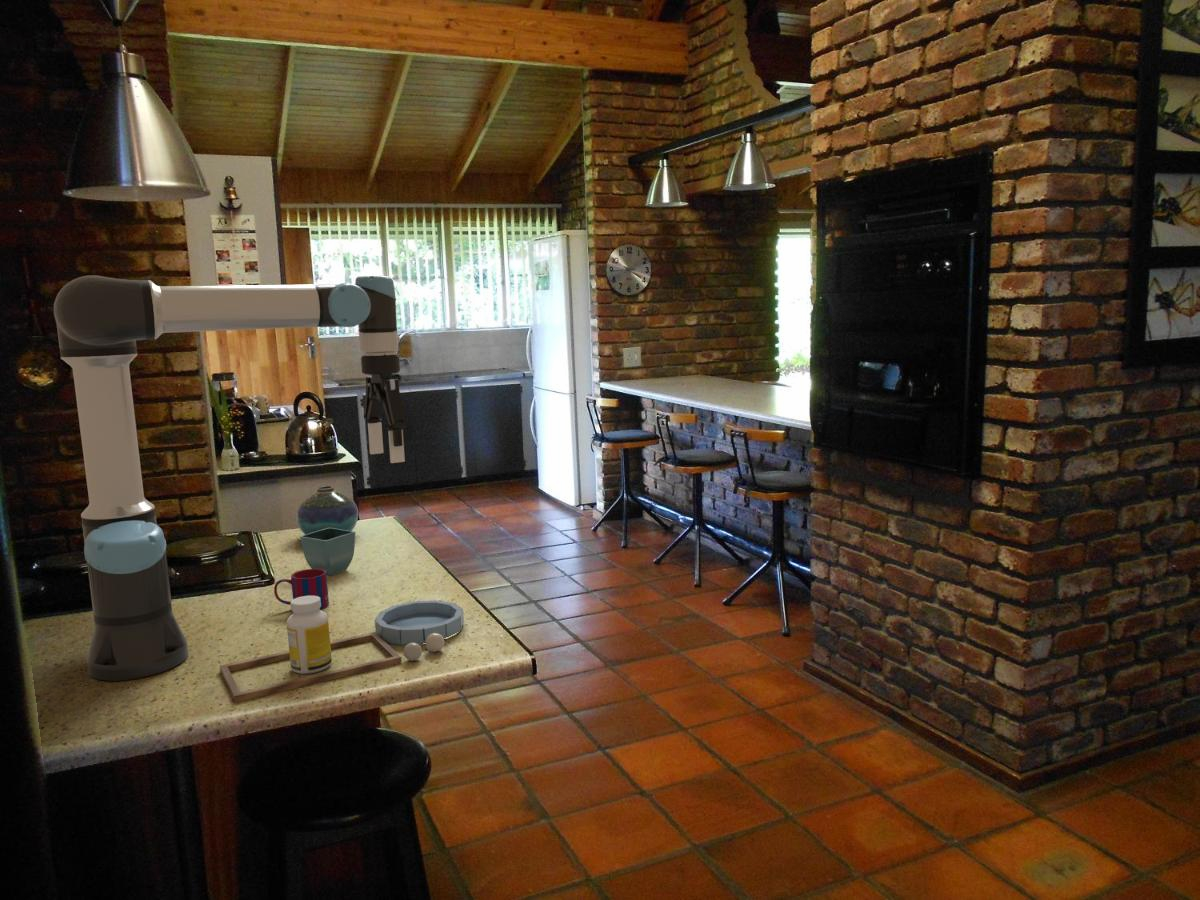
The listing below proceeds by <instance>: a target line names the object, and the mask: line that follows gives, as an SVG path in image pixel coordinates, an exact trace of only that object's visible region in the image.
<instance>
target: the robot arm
mask: <svg viewBox="0 0 1200 900" xmlns="http://www.w3.org/2000/svg"><path fill="white" fill-rule="evenodd" d="M394 282H395V281H394V280H393V279H392V277H391V276H387V275H363V276H361V275H360V276H357V277H356V278H355V283H354V284H352V283H344V282H343V283H340V284H273V285H272V284H266V285H263V284H262V285H261V284H260V285H259V284H258V285H257V284H256V285H254V284H253V285H246V284H245V285H176V286H175V285H166V286H164V285H163V286H162V285H157V284H155V283H154V282H153V281H152V280H150V279H146V280H145V279H142V280H140V279H123V278H114V277H109V276H108V277H107V276H101V275H96V274H95V275H82V276H79V277H77V278H74V279H73V280H72V279H71V281H69V282H67V283H66V284H64V286H63V287H62V288H61V289H60V290H59V291H58V293H57V295H56V297H55V300H54V303H53V316H54V319H55V323H56V328H57V337H58V338H57V339H58V347H59V353H60V360H63V362H65V363H66V364H67V365H69V366H70V367H71V369H72V375H73V382H74V391H75V398H76V407H77V415H78V422H79V423H78V424H79V430H80V437H81V446H82V454H83V463H84V470H85V479H86V486H87V493H88V494H87V495H88V502H89V503H88V505H87V506H86V508H85V509H84V510H83V511H82V513H80V518H81V526H82V533H83V541H84V542H83V543H84V545H83V551H84V553H83V554H84V559H85V561H86V565H87V574H88V582H89V589H90V590H89V591H90V597H91V598H90V599H91V605H92V614H93V620H94V621H93V622H94V629H93V633H92V637H91V641H90V645H89V649H88V653H87V659H86V664H87V665H86V666H87V672H88V673H87V674H88V676H90V677H91V678H93V679H96V680H101V681H108V682H109V681H128V680H135V679H141V678H145V677H150V676H153V675H157V674H160V673H163V672H166V671H168V670H170V669H173V668H175V667H177V666H179V665H180V664H182V663H183V662H184V661H185V660H187V659H188V656H189V648H188V641H187V639H186V637H185V634H184V633H183V630H182V629H181V627H180V624H179V622H178V621H177V619H176V617H175V615H174V612H173V605H172V597H171V587H170V578H169V570H168V561H167V560H168V559H167V550H166V549H167V541H166V538H165V536H164V531H163V529H162V528H161V527H160V526H159V525H158V523H157V516H156V509H155V505H154V503H152V502H150V501H149V500H147V499H146V497H145V494H144V493H145V492H144V485H143V475H142V468H141V460H140V459H141V458H140V451H139V441H138V433H137V424H136V415H135V408H134V407H135V406H134V398H133V397H134V396H133V391H132V382H131V381H132V380H131V373H130V364H131V362H133V360H134V359H135V358H137V356H138V350H137V341H143V340H144V341H145V340H146V341H148V340H157V339H158V338H159V337H160V336H161V335H162V334H164V333H167V334H169V333H191V332H192V333H194V332H219V331H222V332H223V331H241V330H242V331H246V330H267V329H268V330H270V329H271V330H272V329H274V330H275V329H297V328H301V329H302V328H332V327H333V328H334V327H335V328H337V327H344V328H350V327H356V326H358V339H359V352H360V353H361V354H363V355H362V356H360V363H361V364H360V366H361V373H362V374H363V375H368V376H365V395H364V397H365V398H364V407H363V411H364V412H363V419H364V420H366V423H367V430H368V446H369V454H370V455H379V454H384V442H383V441H384V440H383V439H384V438H383V426H382V422H383V417H382V416H381V415H382V411H383V410H384V413H385V416H386V419H387V422H388V423H387V424H388V426H387V428H386V431H387V432H388V433H387V434H388V446H389V461H390V464H395V463H405V461H406V460H405V459H406V458H405V443H404V428H407V426H408V423H407V419H406V415H405V410H404V406H403V402H402V397H401V392H400V384H399V383H400V382H399V380H398V378H394V379H393V377H392V375H393V374H398V373H399V372H400V371H401V367H400V366H401V363H400V355H399V354H397V353H396V352H398V351H399V341H400V340H401V337H400V336H398V327H397V325H398V322H397V303H396V302H397V297H396V290H395V284H394ZM369 375H370V376H369Z"/></svg>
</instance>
